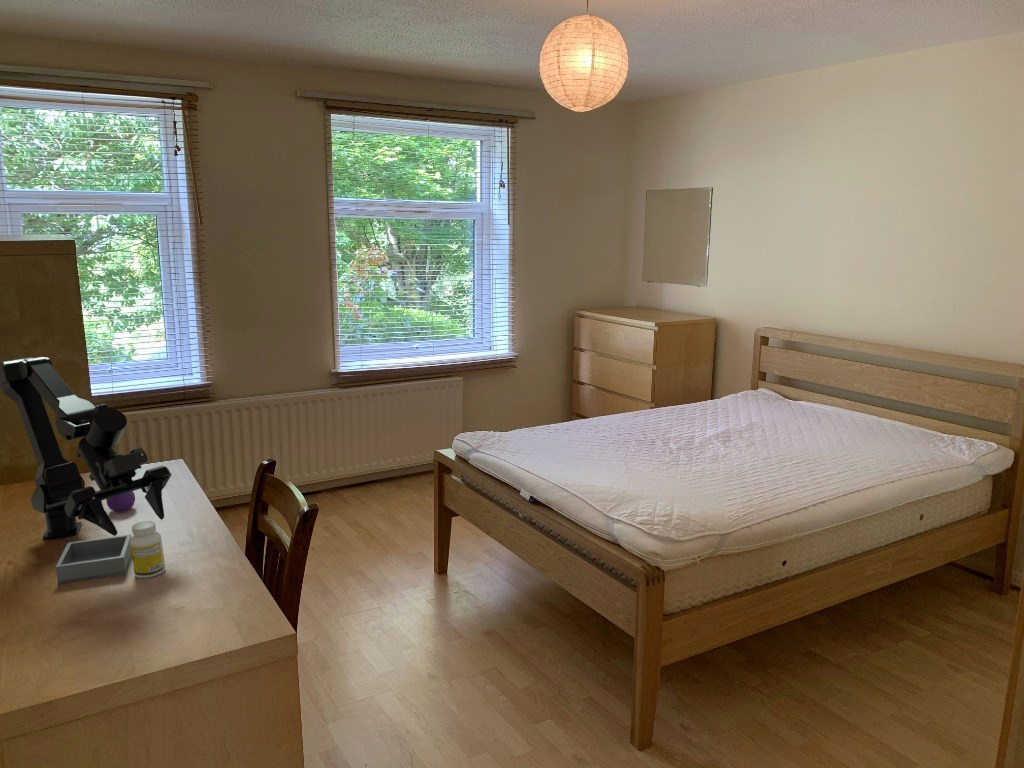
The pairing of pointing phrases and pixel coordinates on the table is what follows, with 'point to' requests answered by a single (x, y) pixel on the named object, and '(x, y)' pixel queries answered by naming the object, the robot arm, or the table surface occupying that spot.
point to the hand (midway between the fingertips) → (140, 526)
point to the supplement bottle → (147, 550)
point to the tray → (94, 559)
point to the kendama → (121, 502)
